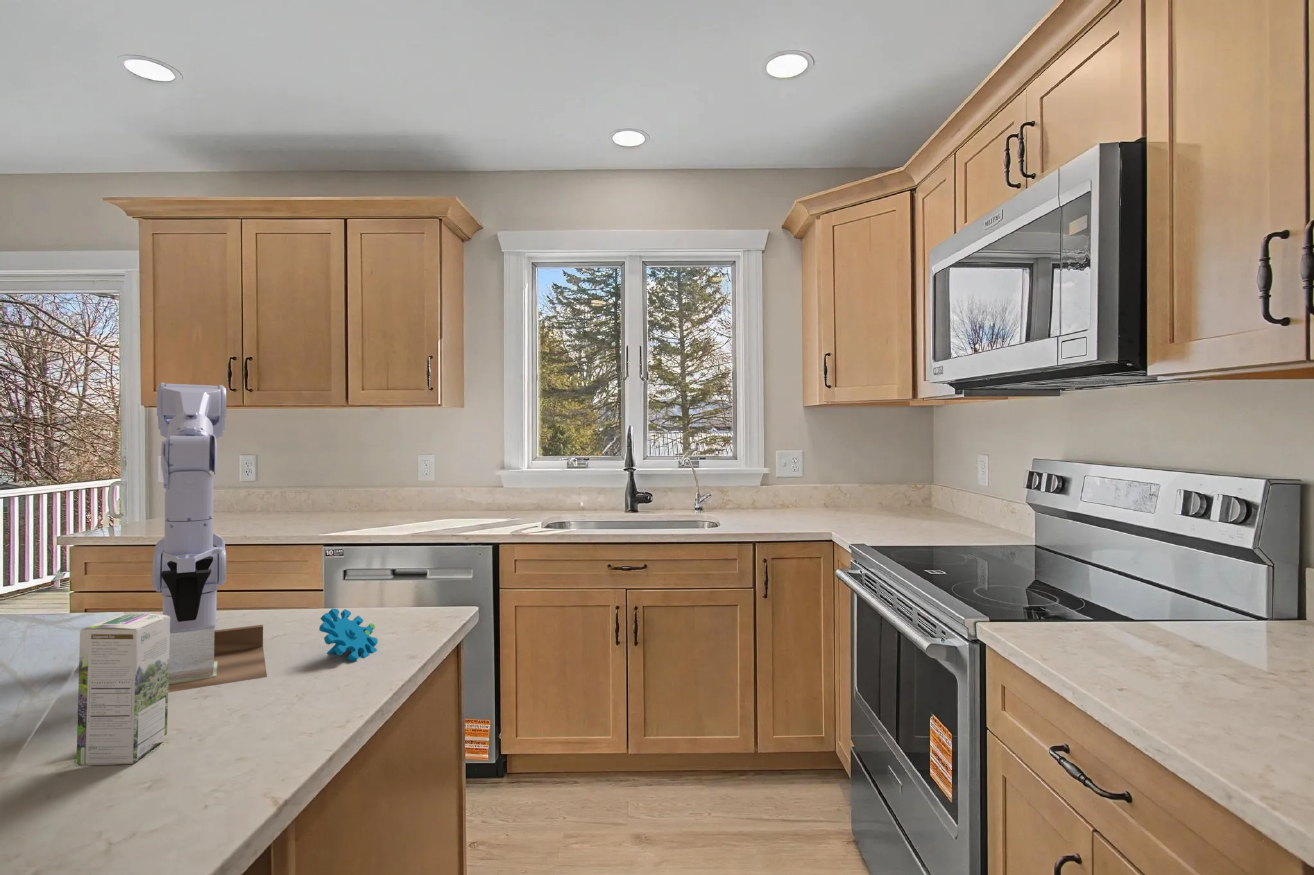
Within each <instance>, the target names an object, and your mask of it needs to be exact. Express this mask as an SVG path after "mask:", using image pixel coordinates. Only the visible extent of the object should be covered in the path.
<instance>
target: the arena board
mask: <svg viewBox="0 0 1314 875" xmlns="http://www.w3.org/2000/svg"><path fill="white" fill-rule="evenodd" d="M266 666H267V665H266V659H265V654H264V646H263V647H255V648H248V649H241V650H233V651H226V652H219V653H214V672H213V675H210V676H204V677H197V678H190V679H184V680H177V681H170V682H168V693H173V692H181V691H186V690H194V689H198V688H200V689H201V688H205V687H206V688H207V687H213V686H219V685H224V684H226V685H227V684H231V683H237V682H244V681H250V680H257V679H262V678H268V673H267V667H266Z"/></svg>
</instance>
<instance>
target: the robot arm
mask: <svg viewBox="0 0 1314 875" xmlns="http://www.w3.org/2000/svg"><path fill="white" fill-rule="evenodd" d="M156 386H157V387H156V416H157V422H158V423H157V424H158V428H157V429H158V430H159V431H160V436H162V437H164V438H165V439H162V441H161V449H160V457H161V458H160V468H161V472H162V477H163V479H162V480H163V489H165V492H164V537H163V538H162V539H160V540H158V541H157V542H156V545H155V546H154V550H153V551H154V552H153V553H154V554H153V556H152V557H153V558H152V575H151V576H152V578H151V579H152V580H151V581H152V582H151V583H152V589H153V590H154V591H155V592H156V593H159V592H161V597H162V615H168V616H170V630H178V629H187V628H195V627H204V626H212V625H215V629H214V630H217V598H218V597H217V595H218V594H217V592H218V587H222V586H223V585H224V584H225V583H226V581H227V551H226V541H225V540H224V538H223V537H222V536H220V535H218V534H217V533H214V476H215V475H216V472H217V469H218V441H217V439H218V438H221V437H222V436H224V433H223V432H224V431H225V430H226V429H225V428H226V417H227V388H226V387H225V386H224V385H223V384H219V385H210V384H209V385H208V384H186V383H185V384H184V383H183V384H182V383H166V382H160V383H159V384H158V385H156ZM210 472H212V473H213V474H214V475H212V474H211V473H210Z"/></svg>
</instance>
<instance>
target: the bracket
mask: <svg viewBox="0 0 1314 875" xmlns="http://www.w3.org/2000/svg"><path fill="white" fill-rule="evenodd" d="M214 629H215V625H212V626H204V627H195V628H187V629H178V630H170V643H169V682H170V681H177V680H184V679H190V678H197V677H204V676H210V675H213V672H214Z"/></svg>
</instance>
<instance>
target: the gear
mask: <svg viewBox="0 0 1314 875" xmlns="http://www.w3.org/2000/svg"><path fill="white" fill-rule="evenodd" d="M339 614H340V616H341V618H340V616H339ZM351 615H352V612H351V611H350V610H348V609H347V608H345V609H343V610H342V611H341V612H340V611H339V609H338V608H331V609H330V610H329V611H328V612H326V613H324V614H323V615H322V616H321V617H320V620H321V621H322V623H321V625H319V628H318V630H319V632H322V633H326V635H325V636H324V637H323V640H324V642H325V644H326V645H327V646H329V645H331V644H334V645H333V646H332V647H331V648H330V649H329V650H328V651H327V652H326V654H328V655H332V654H333V655H334V654H336V655H338V656H339V657H342V655H343V654H344V653H345V652H346V651H350V652H351V653H350V654H349V655H348V656H347V660H349V661H351V662H357V660H358V659H359V658H363V659H366V658H368V657H369V656H370V654H375V653H376V652H377V651H378V649H377V648H376V647H375V646H376V645H377V644H378V642H379V641H378V638H376V637H373V636H371V634H372V633H373V632H374V631H373V630H375V628H376V626H375V624H374V623H369V624H368V625H367V626H362V625H361V624H362V623H363V622H364V619H363V618H362V617H361V616H360V615H357V616H355V617H354V618H353V619H352V620H350V619H349V618H350V616H351ZM359 653H360V656H359Z"/></svg>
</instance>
